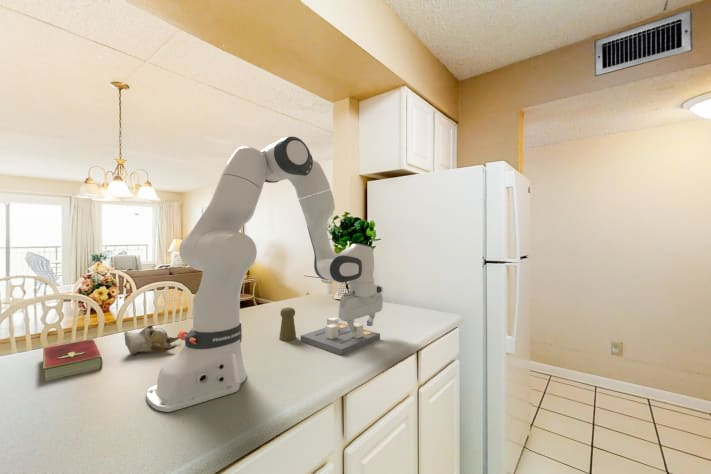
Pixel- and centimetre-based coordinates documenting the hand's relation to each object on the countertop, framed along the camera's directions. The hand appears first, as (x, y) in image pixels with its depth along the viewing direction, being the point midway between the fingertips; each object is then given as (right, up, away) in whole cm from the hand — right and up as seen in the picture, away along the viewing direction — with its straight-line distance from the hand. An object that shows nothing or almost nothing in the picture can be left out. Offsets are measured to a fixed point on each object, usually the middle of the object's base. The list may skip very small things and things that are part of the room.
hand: (361, 328), depth 111 cm
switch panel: (-7, -4, +1) cm, 9 cm away
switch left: (-11, -2, +6) cm, 12 cm away
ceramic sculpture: (-68, -5, -9) cm, 69 cm away
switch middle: (-10, -2, -3) cm, 11 cm away
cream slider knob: (-2, -2, -2) cm, 3 cm away
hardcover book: (-86, -6, -19) cm, 88 cm away
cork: (-27, -5, +3) cm, 27 cm away
